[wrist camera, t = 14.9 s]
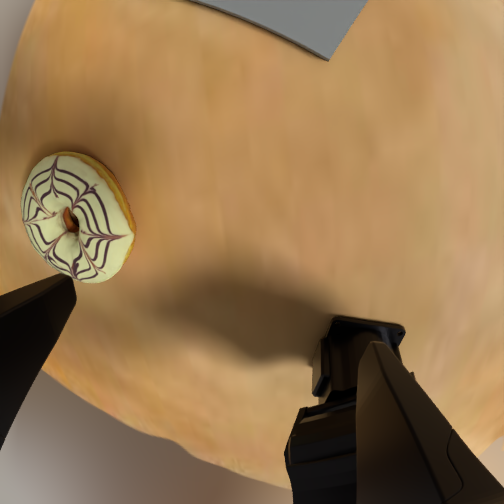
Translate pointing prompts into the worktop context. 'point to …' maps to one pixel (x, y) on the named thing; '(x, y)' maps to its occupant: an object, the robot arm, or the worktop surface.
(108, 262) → the decorated donut
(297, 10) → the mat
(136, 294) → the worktop surface
